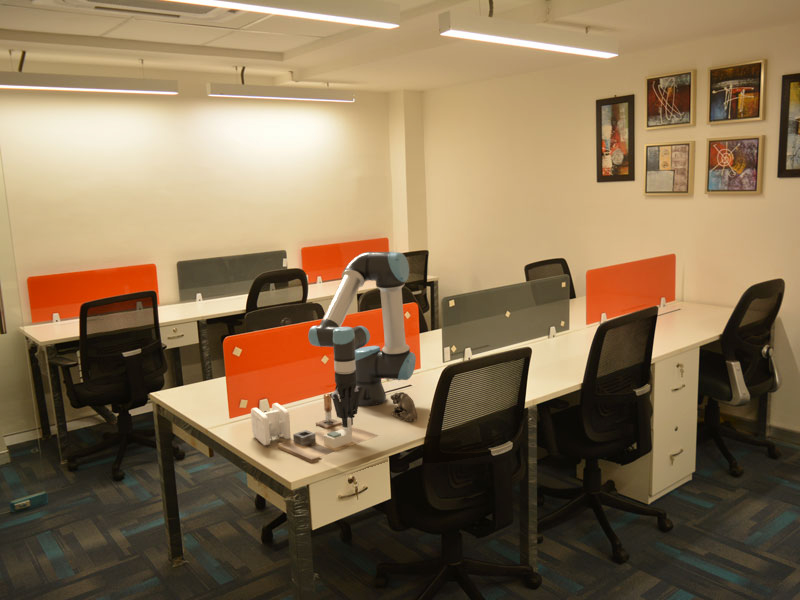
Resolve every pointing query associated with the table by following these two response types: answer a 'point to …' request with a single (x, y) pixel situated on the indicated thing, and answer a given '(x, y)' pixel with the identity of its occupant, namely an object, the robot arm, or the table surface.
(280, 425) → the cable organizer
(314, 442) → the plywood panel
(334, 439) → the block
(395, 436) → the table surface
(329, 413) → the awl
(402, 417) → the figurine
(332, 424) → the tool rest
